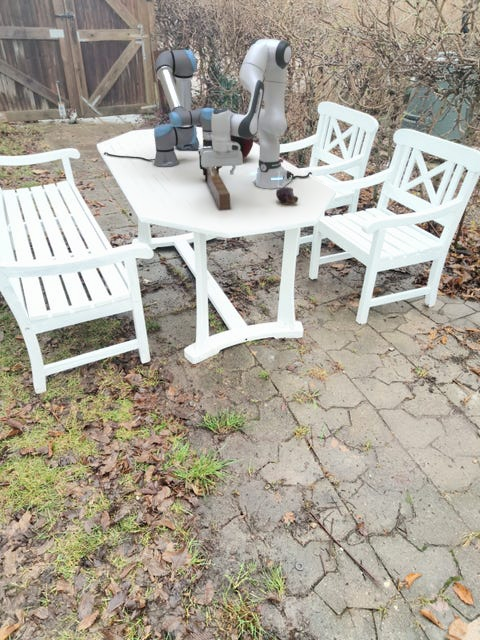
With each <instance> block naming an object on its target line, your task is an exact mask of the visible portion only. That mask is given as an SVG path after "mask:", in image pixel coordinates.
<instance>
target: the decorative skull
mask: <svg viewBox="0 0 480 640" xmlns="http://www.w3.org/2000/svg"><path fill="white" fill-rule="evenodd" d="M230 138H231V141H233V142H237V143H238V144H239V145H240V151H241V152H242V156H243V160H244V159H245V158H248V156H249V155H250V152H251V151H252V148H253V146H254V137H252V138H251V139H245V138H242V137H238V136H233V135H230Z"/></svg>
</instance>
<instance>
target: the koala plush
mask: <svg viewBox="0 0 480 640" xmlns="http://www.w3.org/2000/svg"><path fill="white" fill-rule="evenodd" d="M199 145H200V140H199V138H198V136H197V137H196V141H195V142H194V143H193V144H189V145H179V146H174V148H176V149H179V150H181V151H185V150H186V151H187V150H188V151H197V150H200V149H199V148H200V146H199Z"/></svg>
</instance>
